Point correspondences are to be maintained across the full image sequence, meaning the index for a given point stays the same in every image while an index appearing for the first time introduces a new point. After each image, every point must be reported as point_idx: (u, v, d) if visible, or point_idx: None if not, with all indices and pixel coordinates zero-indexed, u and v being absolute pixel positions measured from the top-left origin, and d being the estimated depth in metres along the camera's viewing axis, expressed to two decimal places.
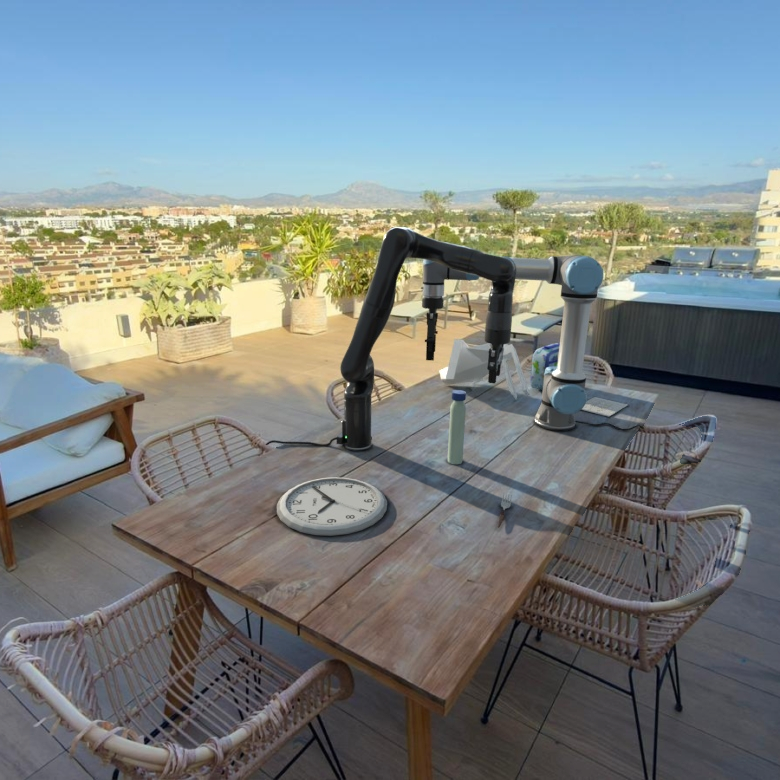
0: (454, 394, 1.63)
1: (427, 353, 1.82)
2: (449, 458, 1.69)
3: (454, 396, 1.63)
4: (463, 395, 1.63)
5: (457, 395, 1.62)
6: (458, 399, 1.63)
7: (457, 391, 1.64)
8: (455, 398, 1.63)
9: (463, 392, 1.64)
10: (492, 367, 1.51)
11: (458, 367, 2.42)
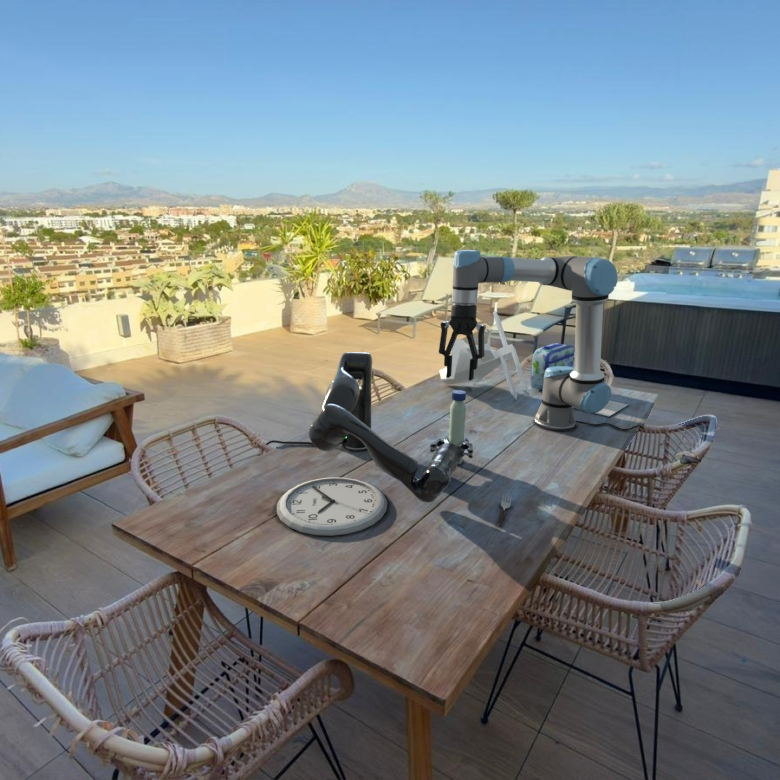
0: (454, 394, 1.63)
1: None
2: None
3: (454, 396, 1.63)
4: (463, 395, 1.63)
5: (457, 395, 1.62)
6: (458, 399, 1.63)
7: (457, 391, 1.64)
8: (455, 398, 1.63)
9: (463, 392, 1.64)
10: None
11: (458, 367, 2.42)
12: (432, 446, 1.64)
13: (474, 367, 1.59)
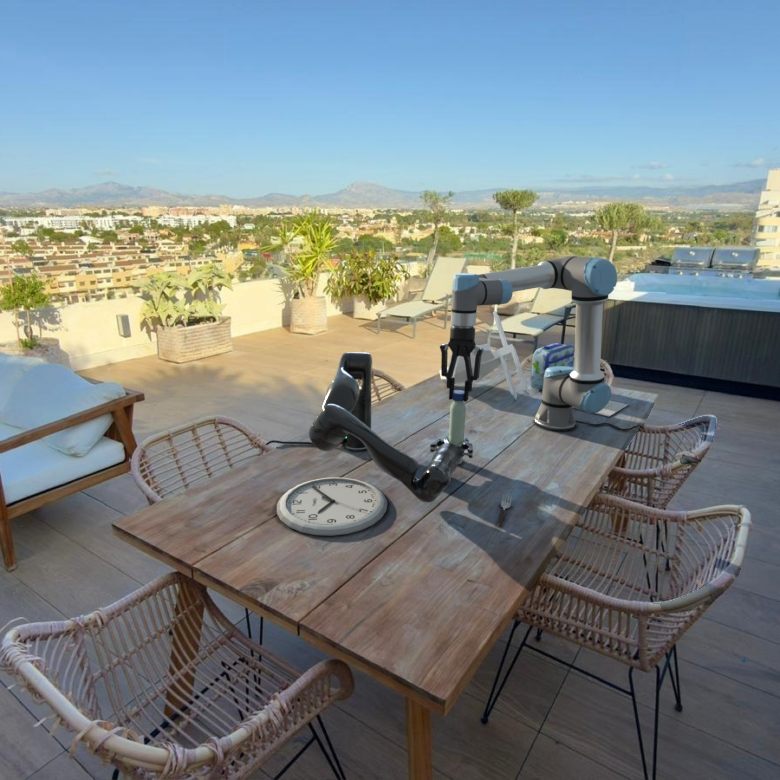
0: (454, 394, 1.63)
1: None
2: None
3: (454, 396, 1.63)
4: (463, 395, 1.63)
5: (457, 395, 1.62)
6: (458, 399, 1.63)
7: (457, 391, 1.64)
8: (455, 398, 1.63)
9: (463, 392, 1.64)
10: None
11: (458, 367, 2.42)
12: (432, 446, 1.64)
13: (469, 389, 1.62)
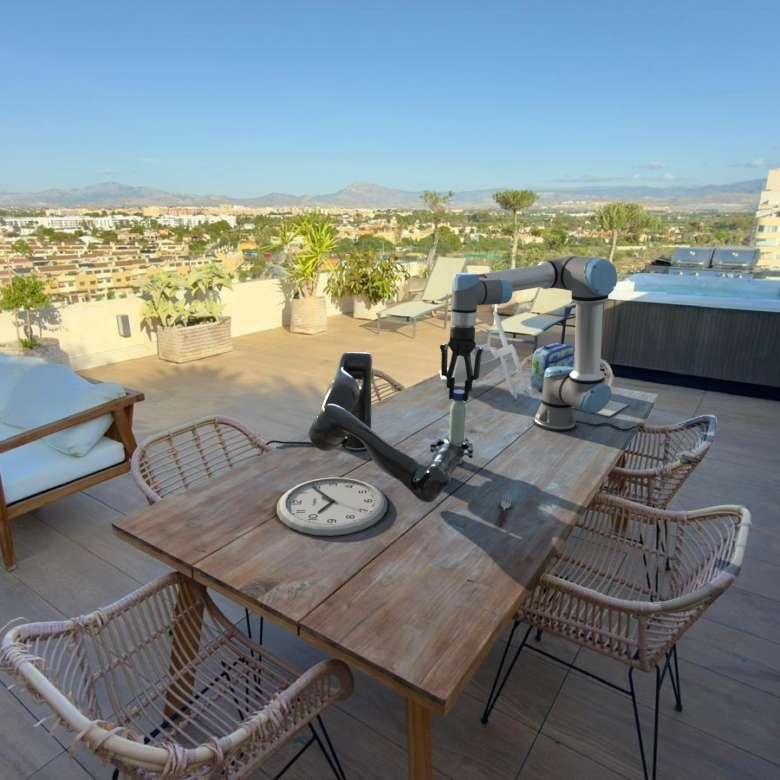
0: None
1: None
2: None
3: None
4: None
5: None
6: None
7: (458, 392, 1.63)
8: None
9: (458, 390, 1.65)
10: None
11: (458, 367, 2.42)
12: (432, 446, 1.64)
13: (469, 388, 1.62)
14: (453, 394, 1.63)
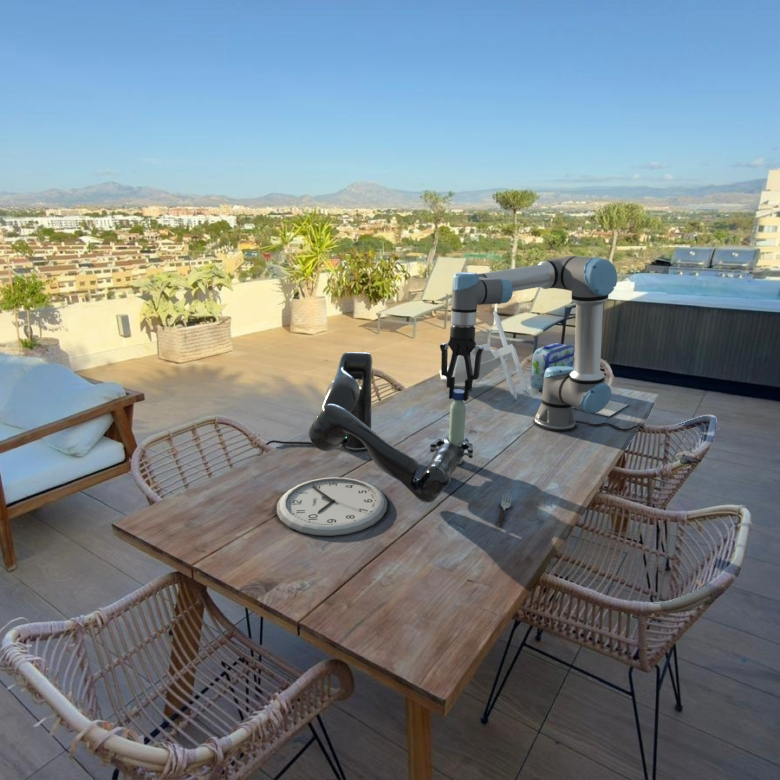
0: None
1: None
2: None
3: None
4: None
5: None
6: None
7: (461, 391, 1.64)
8: None
9: (454, 391, 1.63)
10: None
11: (458, 367, 2.42)
12: (432, 446, 1.64)
13: (469, 388, 1.62)
14: None
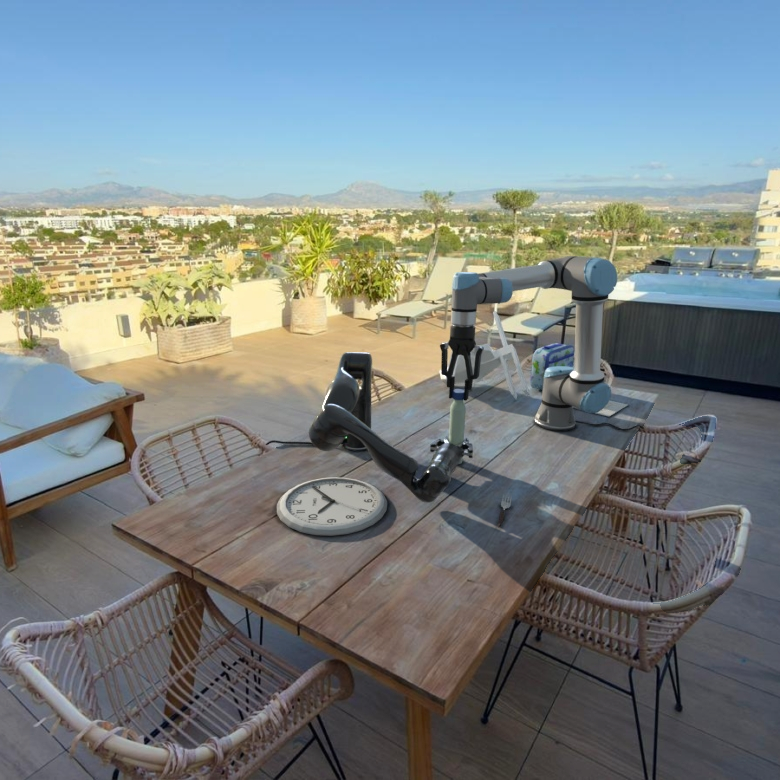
0: (452, 392, 1.64)
1: None
2: None
3: (452, 394, 1.64)
4: (459, 394, 1.62)
5: (454, 393, 1.63)
6: (454, 397, 1.63)
7: (458, 390, 1.64)
8: (452, 396, 1.64)
9: (462, 392, 1.63)
10: None
11: (458, 367, 2.42)
12: (432, 446, 1.64)
13: (469, 387, 1.62)
14: None
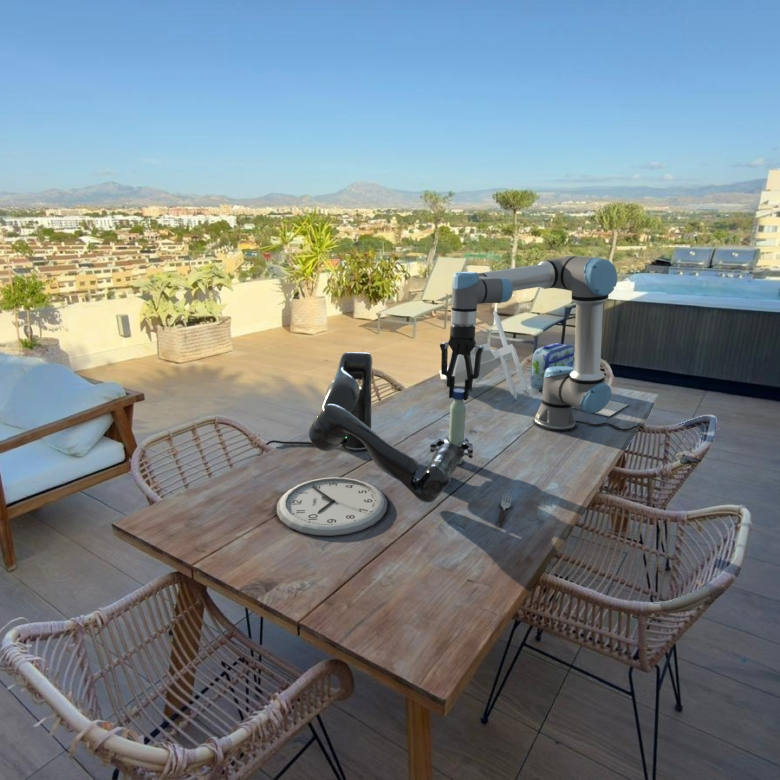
0: (461, 393, 1.62)
1: None
2: None
3: (462, 395, 1.62)
4: None
5: None
6: None
7: (457, 390, 1.64)
8: (463, 397, 1.63)
9: (461, 389, 1.65)
10: None
11: (458, 367, 2.42)
12: (432, 446, 1.64)
13: (469, 387, 1.61)
14: (452, 392, 1.64)
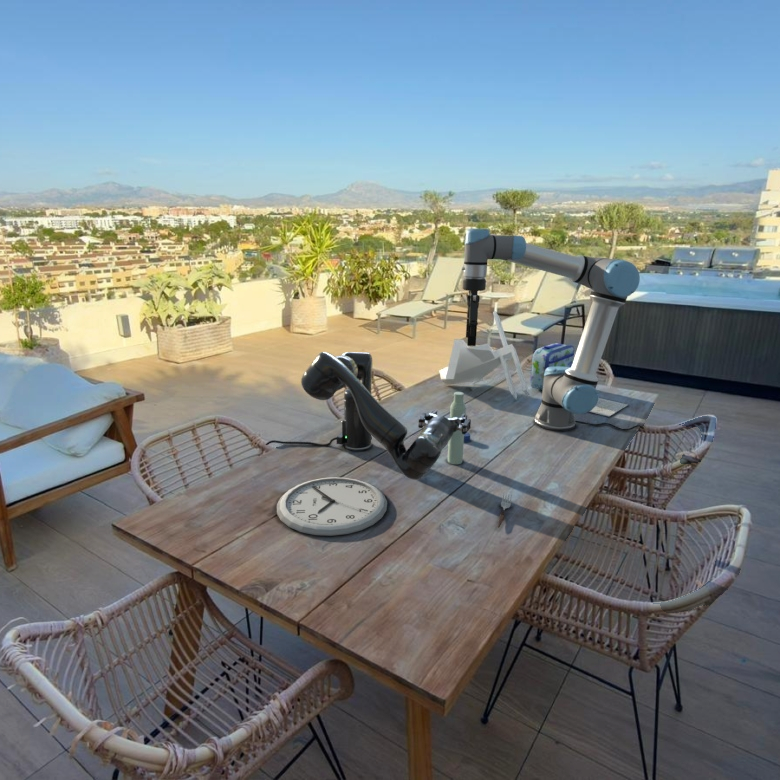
0: None
1: (469, 338, 1.70)
2: (449, 458, 1.69)
3: None
4: None
5: None
6: None
7: (465, 434, 1.87)
8: None
9: None
10: (469, 423, 1.48)
11: (458, 367, 2.42)
12: (421, 421, 1.47)
13: None
14: (465, 437, 1.86)
